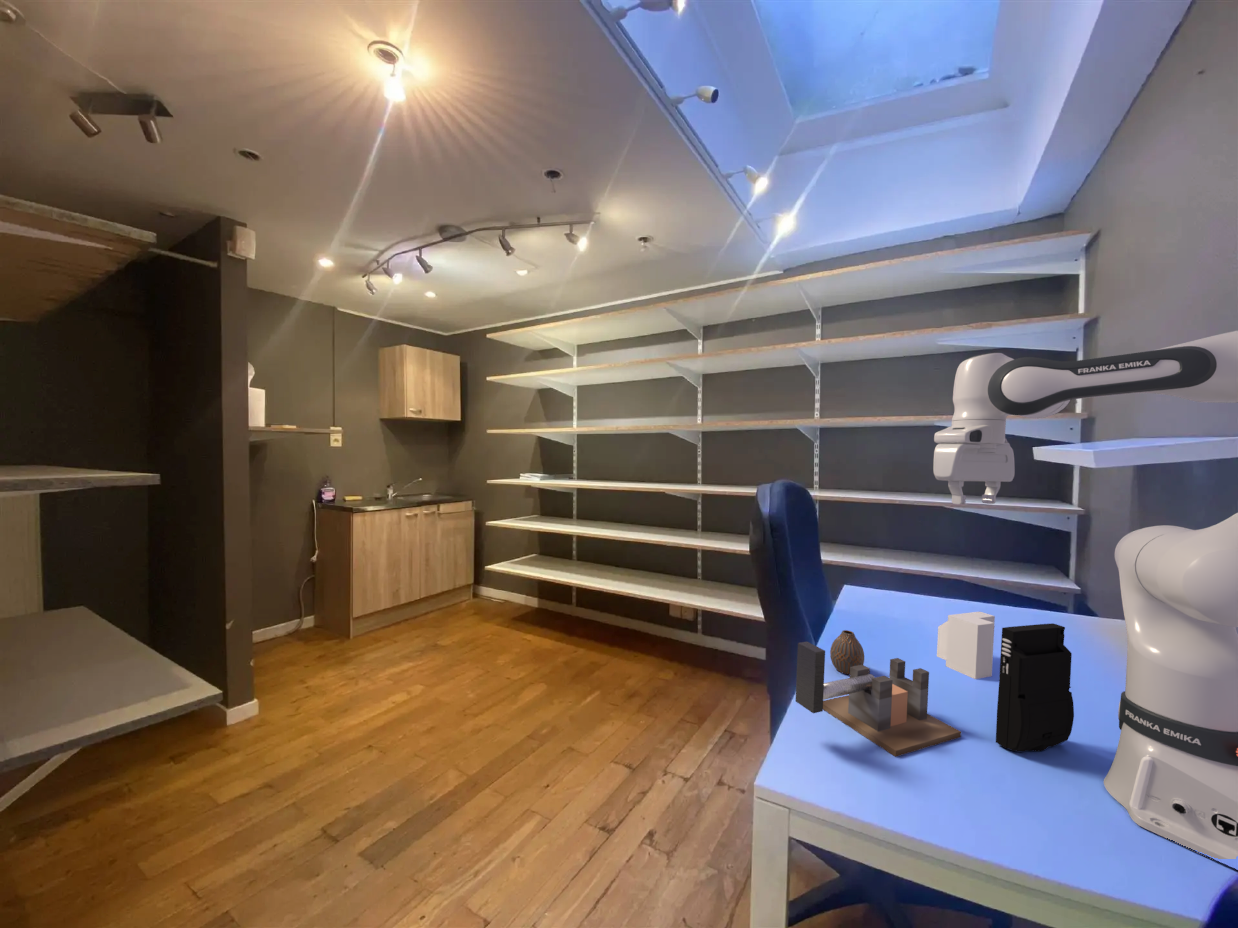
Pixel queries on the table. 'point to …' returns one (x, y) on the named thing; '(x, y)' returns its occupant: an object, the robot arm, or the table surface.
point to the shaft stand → (874, 711)
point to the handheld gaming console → (1034, 688)
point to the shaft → (821, 679)
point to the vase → (846, 652)
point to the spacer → (898, 705)
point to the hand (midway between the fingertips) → (973, 503)
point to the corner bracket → (967, 643)
